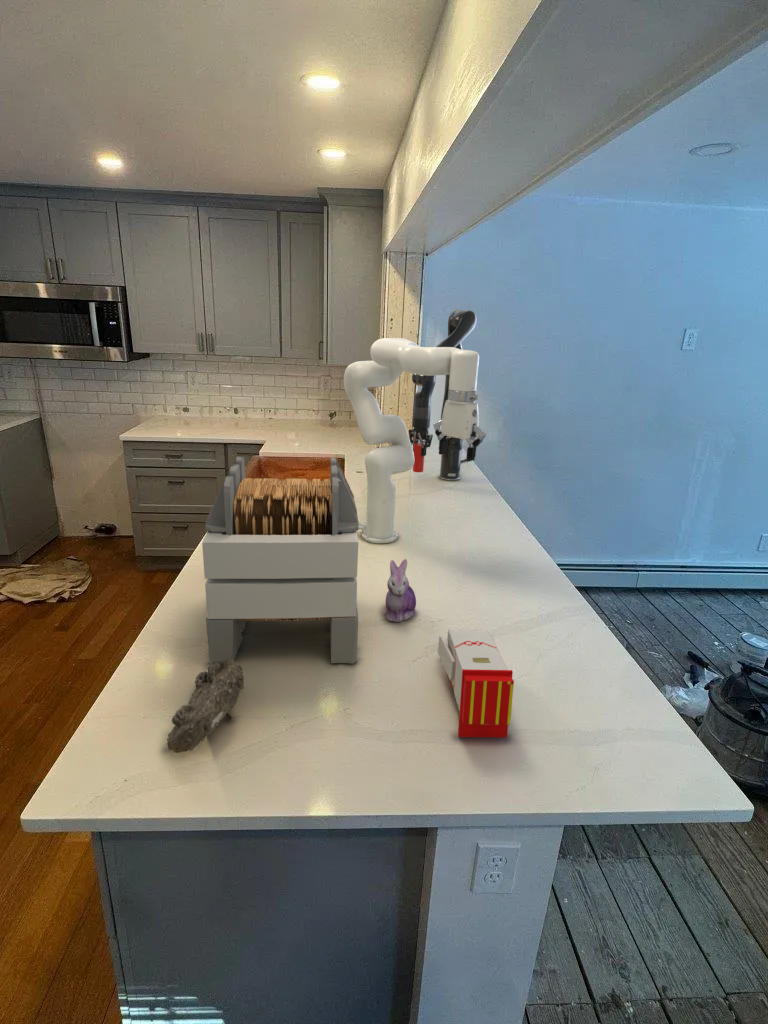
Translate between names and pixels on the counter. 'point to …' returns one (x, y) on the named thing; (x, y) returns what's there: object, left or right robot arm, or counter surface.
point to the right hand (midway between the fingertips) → (419, 454)
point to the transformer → (281, 558)
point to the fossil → (206, 705)
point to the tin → (418, 458)
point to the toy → (478, 682)
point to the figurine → (399, 594)
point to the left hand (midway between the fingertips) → (456, 457)
